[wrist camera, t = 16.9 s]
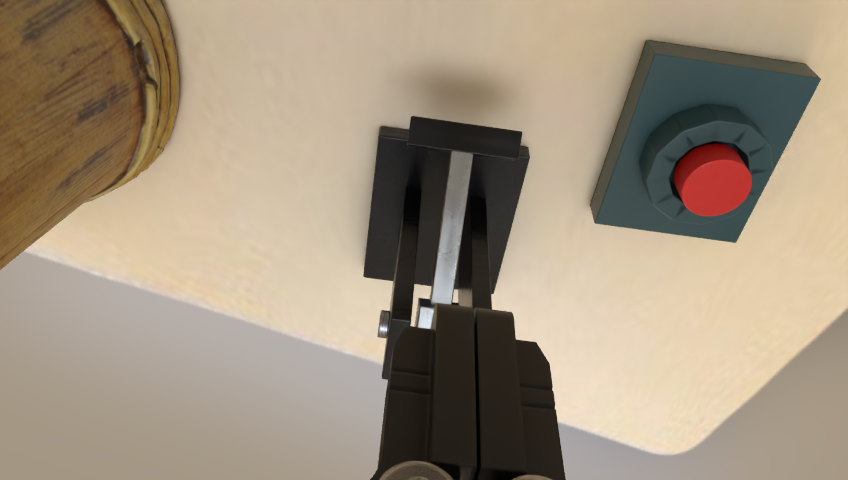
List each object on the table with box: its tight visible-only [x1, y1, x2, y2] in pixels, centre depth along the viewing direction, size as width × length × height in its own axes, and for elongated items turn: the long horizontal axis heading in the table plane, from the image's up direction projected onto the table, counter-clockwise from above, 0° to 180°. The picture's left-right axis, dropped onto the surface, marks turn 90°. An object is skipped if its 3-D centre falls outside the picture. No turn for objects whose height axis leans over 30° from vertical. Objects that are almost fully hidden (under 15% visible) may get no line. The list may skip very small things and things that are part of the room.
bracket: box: [364, 127, 530, 379], centre depth 39 cm, size 11×9×13 cm
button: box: [674, 143, 752, 216], centre depth 37 cm, size 4×4×2 cm
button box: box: [590, 40, 821, 243], centre depth 39 cm, size 11×9×4 cm
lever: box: [407, 116, 522, 329], centre depth 35 cm, size 12×6×2 cm, turn 172°
